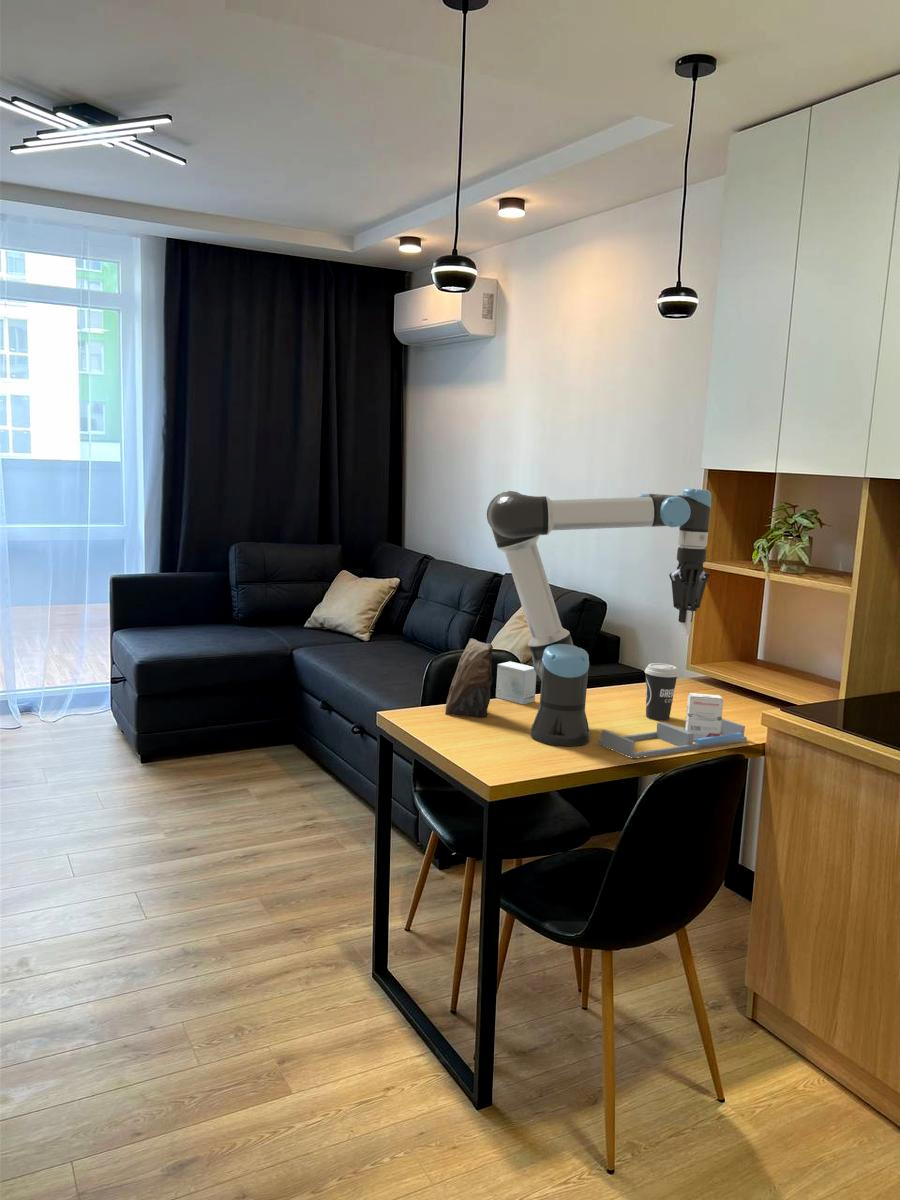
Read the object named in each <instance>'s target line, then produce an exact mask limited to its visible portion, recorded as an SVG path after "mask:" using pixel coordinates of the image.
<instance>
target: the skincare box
mask: <svg viewBox="0 0 900 1200" xmlns="http://www.w3.org/2000/svg"><path fill="white" fill-rule="evenodd" d="M496 669H497V671H496V674H497V675H496V688H495V698H496V699H497V698H498V699H502V700H505V701H508V702H512V703H516V704H518V705H519V704H520V705H526V704H530V703H534V701H536V689H537V687H536V685H537V674H536V672H535V670H534V667H533V665H532V666H530V665H527V664H523V663H519V662H515V661H512V660H509V661H506V662H501V663H497V668H496Z"/></svg>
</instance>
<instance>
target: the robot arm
mask: <svg viewBox="0 0 900 1200" xmlns="http://www.w3.org/2000/svg"><path fill="white" fill-rule="evenodd" d="M711 509H712V492H711V491H710V490H708V489H703V488H702V489H699V488H684V489H682V493H681V494H680V495H672V494H671V495H670V494H660V493H659V494H658V493H641V494H639V495H638V496H637V497H635V496H633V497H631V496H630V497H608V498H607V497H605V498H577V499H576V498H575V499H550V498H549V497H548V496H547V495H546V496H543V495H542V496H535V495H526V494H522V493H520V492H517V491H511V490H508V491H504V492H501V493H498V494H497V495H496V496H494V497H493V498H492V499H491V500H490V502H489V504H488V506H487V510H486V519H487V523H488V524H489V526H490V528H491V531H492V535H493V537H494V541H495V543H496V546H497V549H498V550H500V551H502V552H504V553H505V556H506V559H507V563H508V566H509V570H510V572H511V575H512V580H513V582H514V585H515V588H516V591H517V592H516V593H517V594H518V598H519V601H520V603H521V604H520V606H521V608H522V611H523V614H524V617H525V621H526V624H527V627H528V630H529V633H530V639H529V641H528V643H527V645H528V648H529V653H530V655H531V659H532V667H534V670H535V672H536V676H537V677H539V679H540V683H541V684H540V692H539V693H540V694H539V695H540V696H539V707H538V710H537V713H536V715H535V718H534V720H533V723H532V724H531V728H530V737H531V738H532V739H533V740H535V741H537V742H540V743H542V744H543V743H544V744H548V745H553V746H562V747H577V746H582V745H586V744H587V743H589V742H590V738H591V737H590V736H591V730H590V728H589V722H588V717H587V714H586V703H587V702H586V700H587V689H588V688H587V687H588V679H589V678H588V676H589V668H590V661H589V660H590V659H589V658H590V657H589V656H590V655H589V654H588V651H586V650H585V649H583V648H582V647H578V646H576V645H575V644H574V642H573V639H572V636H571V633H570V631H569V630H567V629H566V628H564V627H563V626H562V622H561V619H560V616H559V613H558V609H557V606H556V604H555V600H554V597H553V594H552V589H551V587H550V584H549V581H548V578H547V573H546V571H545V567H544V564H543V560H542V558H541V557H542V556H541V555H540V551H539V548H538V547H539V546H538V545H537V542H538V540H539V538H540V536H548V535H549V534H550V533H551V532H552V531H571V530H573V531H574V530H595V529H599V530H600V529H602V530H603V529H619V528H621V529H622V528H646V527H647V528H650V527H652V528H653V527H658V528H660V527H669V528H677V527H679V530H678V539H677V540H678V541H677V545H678V547H677V551H676V552H677V553H676V561H677V562H678V564H677V566H676V570H675V571H674V572H669V575H668V576H669V579H670V581H671V591H672V602H673V608H675V609H676V610H678V611H679V612H678V622H679V624H678V635H682V636H690V635H691V628H692V627H691V625H692V622H693V618H694V617H693V616H694V612H697V610H698V609H700V607H701V603H702V600H703V597H704V596H703V595H704V591H705V588H706V584H707V582H708V580H709V579H710V573H708V572H705V570H704V569H705V567H704V563H705V562H706V559H707V549H706V547H707V546H708V538H709V537H708V536H709V526H710V518H711Z"/></svg>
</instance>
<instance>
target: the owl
mask: <svg viewBox="0 0 900 1200" xmlns="http://www.w3.org/2000/svg"><path fill="white" fill-rule="evenodd" d="M493 649H494V646H493V644H492V643H489V642H488V643H485V642H482V641H478V640H477V639H475V638H469V640H468V643H467V644H466V646H465V648H464V650H463V653H462V654H461V656H460V658H459V660H458V664H457V667H456V671H455V673H454V676H453V678H452V681H451V684H450V687H449V691H448V695H447V697H446V702H445V713H444V715H450V716H457V717H458V716H459V717H468V718H478V719H479V718H480V719H485V718H488V717H489V713H488V710H489V709H488V708H489V704H490V703H491V702H490V701H491V686H492V684H493V683H494V678H493V675H492V669H493V667H492V666H493V663H492V661H493V651H494V650H493Z"/></svg>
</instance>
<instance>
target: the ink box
mask: <svg viewBox="0 0 900 1200" xmlns="http://www.w3.org/2000/svg"><path fill="white" fill-rule="evenodd" d="M723 706H724V698H723V697H722V695H718V694H706V693H694V692H689V693H688V694H687V705H686V717H685V718H686V719H685V727H684V728H685V730H686V731H689V732H692V733H694V736H693V742H696V739H699V738H706V737H712V736H719V735H721V734H720V732H721V721H722V718H723V711H724V710H723V709H724V708H723Z"/></svg>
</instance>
